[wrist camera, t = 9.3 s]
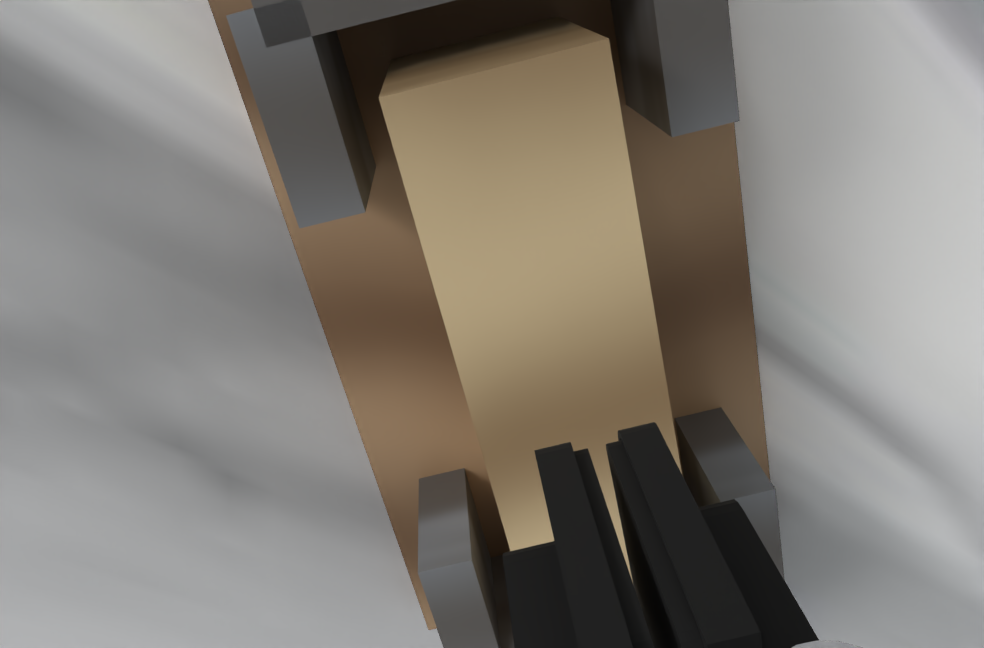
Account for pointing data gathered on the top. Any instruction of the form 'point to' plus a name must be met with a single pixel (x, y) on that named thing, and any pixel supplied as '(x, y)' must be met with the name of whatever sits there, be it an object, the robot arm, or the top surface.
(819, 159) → the top surface
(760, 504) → the rail
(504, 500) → the beige rectangular block
